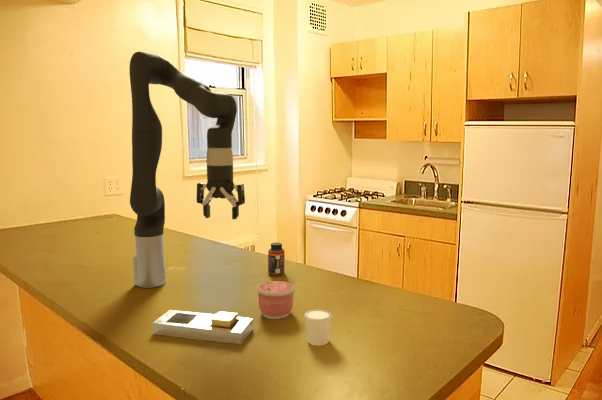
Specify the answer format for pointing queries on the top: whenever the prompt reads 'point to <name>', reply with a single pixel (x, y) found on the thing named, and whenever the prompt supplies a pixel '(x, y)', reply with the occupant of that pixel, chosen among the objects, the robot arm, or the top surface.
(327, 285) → the top surface
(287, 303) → the container
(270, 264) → the supplement bottle
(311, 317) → the white cup
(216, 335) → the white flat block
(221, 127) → the robot arm
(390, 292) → the top surface
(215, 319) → the wooden toy cube
